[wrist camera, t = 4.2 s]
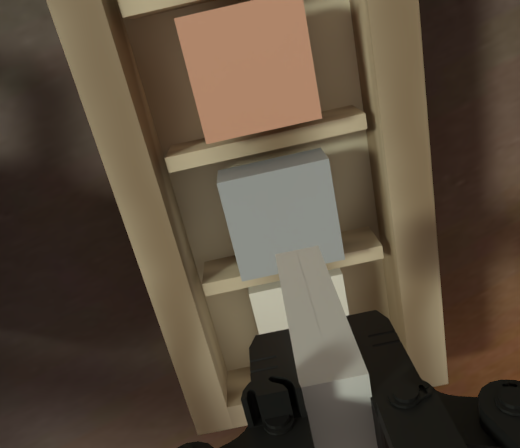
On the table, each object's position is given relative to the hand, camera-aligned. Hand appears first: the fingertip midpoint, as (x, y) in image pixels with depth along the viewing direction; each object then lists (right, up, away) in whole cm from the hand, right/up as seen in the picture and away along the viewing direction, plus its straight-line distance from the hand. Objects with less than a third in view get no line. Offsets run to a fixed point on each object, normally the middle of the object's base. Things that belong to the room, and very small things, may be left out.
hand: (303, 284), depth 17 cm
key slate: (-1, +3, +6) cm, 7 cm away
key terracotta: (-2, +9, +4) cm, 10 cm away
